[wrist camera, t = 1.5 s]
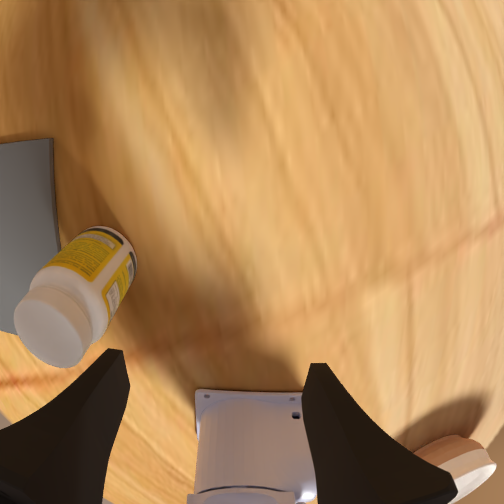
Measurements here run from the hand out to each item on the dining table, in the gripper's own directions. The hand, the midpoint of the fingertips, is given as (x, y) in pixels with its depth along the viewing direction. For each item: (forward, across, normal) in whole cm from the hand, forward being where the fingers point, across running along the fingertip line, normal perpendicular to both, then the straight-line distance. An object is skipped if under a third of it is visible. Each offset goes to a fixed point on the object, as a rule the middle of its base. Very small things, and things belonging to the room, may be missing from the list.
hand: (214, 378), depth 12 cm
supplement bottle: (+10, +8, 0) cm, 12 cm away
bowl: (+10, -30, +29) cm, 43 cm away
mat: (+9, +16, 0) cm, 19 cm away
